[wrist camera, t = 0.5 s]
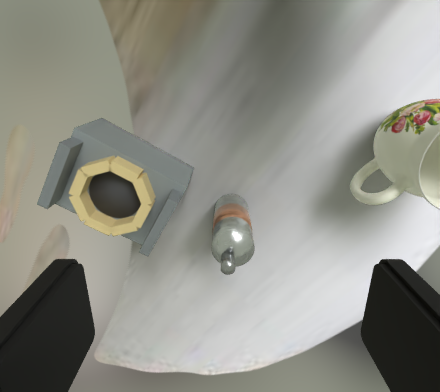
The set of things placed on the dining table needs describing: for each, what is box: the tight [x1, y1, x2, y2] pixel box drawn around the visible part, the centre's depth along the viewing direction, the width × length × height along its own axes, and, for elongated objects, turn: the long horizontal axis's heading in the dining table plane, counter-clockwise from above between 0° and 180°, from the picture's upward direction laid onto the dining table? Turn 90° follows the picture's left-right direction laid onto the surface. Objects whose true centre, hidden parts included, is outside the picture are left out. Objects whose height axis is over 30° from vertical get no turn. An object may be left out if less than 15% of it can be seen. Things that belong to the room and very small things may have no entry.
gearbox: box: [37, 118, 194, 256], centre depth 38 cm, size 10×14×11 cm
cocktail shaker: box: [212, 194, 254, 275], centre depth 39 cm, size 5×5×13 cm
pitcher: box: [350, 99, 440, 209], centre depth 35 cm, size 11×18×14 cm, turn 126°
